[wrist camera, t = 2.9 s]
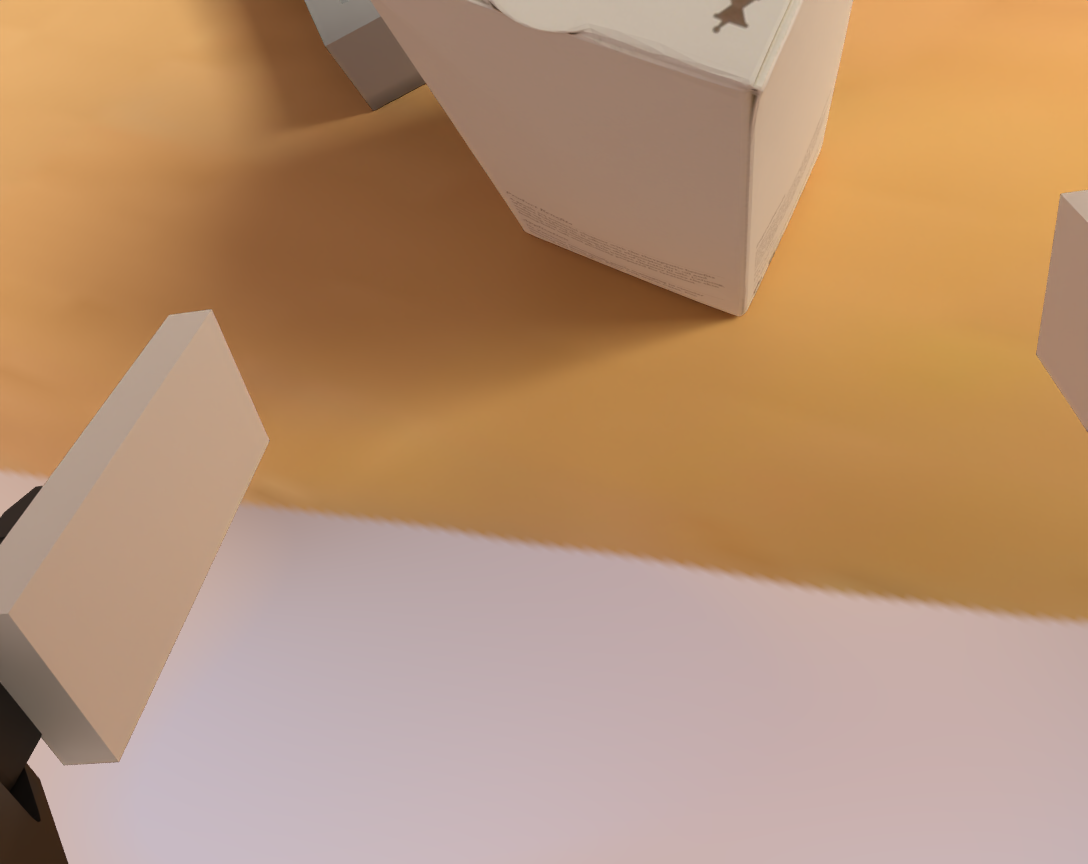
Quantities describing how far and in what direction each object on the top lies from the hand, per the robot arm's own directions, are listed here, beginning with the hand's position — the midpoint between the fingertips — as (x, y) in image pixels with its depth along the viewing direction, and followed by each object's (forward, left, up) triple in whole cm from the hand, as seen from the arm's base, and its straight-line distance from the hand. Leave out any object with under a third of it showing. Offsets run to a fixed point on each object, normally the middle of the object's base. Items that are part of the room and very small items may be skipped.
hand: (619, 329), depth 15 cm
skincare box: (+7, -4, -15) cm, 17 cm away
